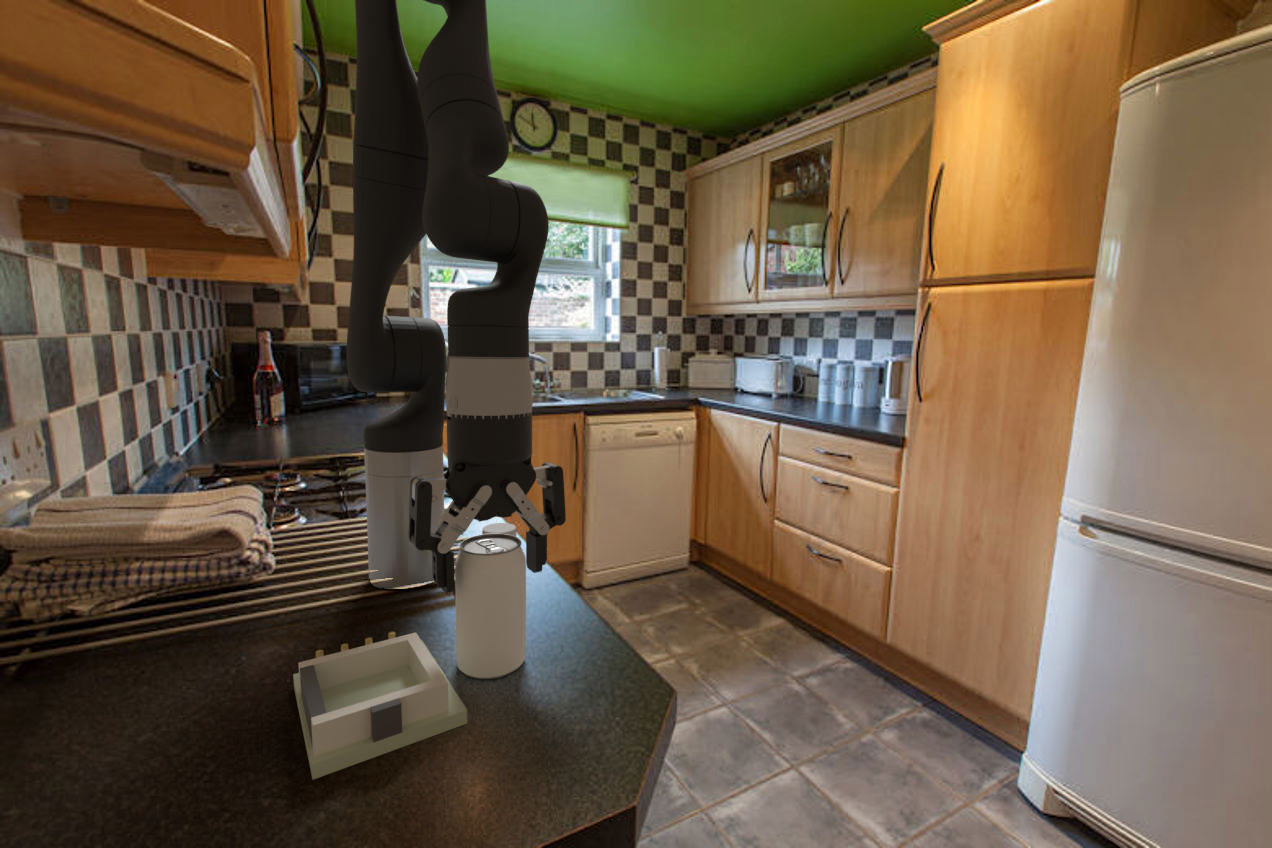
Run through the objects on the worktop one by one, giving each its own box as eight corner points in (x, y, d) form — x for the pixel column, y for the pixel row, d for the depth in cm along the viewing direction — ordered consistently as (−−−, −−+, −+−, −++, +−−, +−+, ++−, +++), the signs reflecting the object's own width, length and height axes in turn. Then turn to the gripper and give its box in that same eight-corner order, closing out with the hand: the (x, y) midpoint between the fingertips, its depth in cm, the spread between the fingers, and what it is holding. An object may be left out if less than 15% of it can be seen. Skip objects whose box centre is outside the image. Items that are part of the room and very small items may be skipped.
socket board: (293, 687, 50) (291, 648, 50) (422, 651, 57) (421, 617, 56) (312, 779, 40) (310, 732, 40) (467, 723, 46) (466, 682, 46)
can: (473, 690, 51) (472, 561, 49) (446, 658, 56) (443, 539, 54) (537, 666, 55) (538, 546, 53) (506, 638, 60) (506, 527, 58)
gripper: (542, 401, 59) (543, 553, 61) (396, 407, 51) (402, 582, 53) (579, 408, 53) (578, 576, 55) (420, 415, 45) (425, 613, 47)
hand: (492, 579), depth 54 cm, fingers open, 8 cm apart
